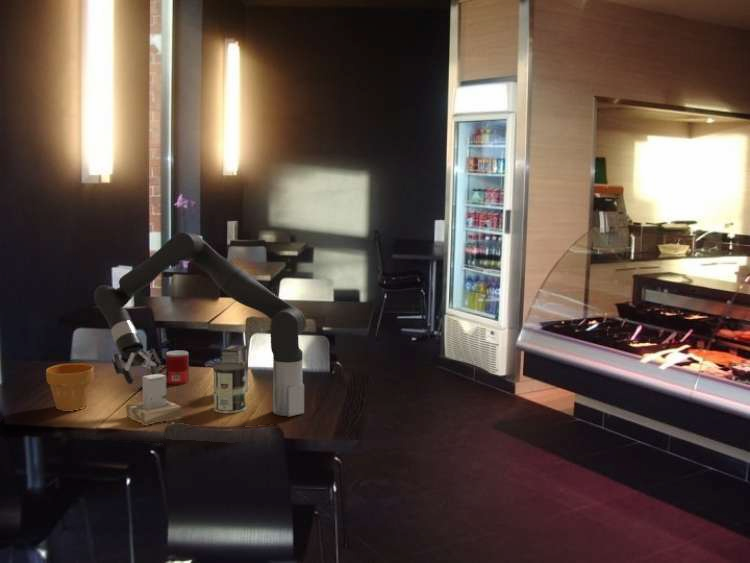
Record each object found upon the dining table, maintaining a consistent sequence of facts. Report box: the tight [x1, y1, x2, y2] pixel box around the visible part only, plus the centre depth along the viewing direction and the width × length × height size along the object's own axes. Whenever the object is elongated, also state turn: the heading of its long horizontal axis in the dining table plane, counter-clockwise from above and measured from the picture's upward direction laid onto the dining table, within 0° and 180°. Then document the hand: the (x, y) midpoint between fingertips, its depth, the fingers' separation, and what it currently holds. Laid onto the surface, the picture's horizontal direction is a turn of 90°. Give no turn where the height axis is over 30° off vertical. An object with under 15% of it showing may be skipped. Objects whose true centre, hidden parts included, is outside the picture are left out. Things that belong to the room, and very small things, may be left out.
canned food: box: [165, 349, 190, 386], centre depth 291 cm, size 8×8×11 cm
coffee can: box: [212, 362, 247, 414], centre depth 259 cm, size 10×10×14 cm
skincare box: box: [141, 373, 167, 411], centre depth 249 cm, size 6×4×12 cm
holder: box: [125, 399, 182, 424], centre depth 249 cm, size 12×12×4 cm
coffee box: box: [220, 344, 249, 393], centre depth 278 cm, size 9×6×16 cm
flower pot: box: [45, 362, 95, 410], centre depth 257 cm, size 14×14×13 cm
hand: (144, 380), depth 252 cm, fingers open, 8 cm apart
